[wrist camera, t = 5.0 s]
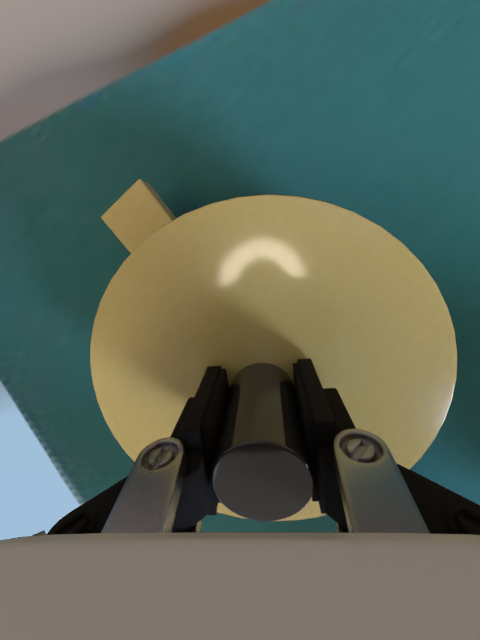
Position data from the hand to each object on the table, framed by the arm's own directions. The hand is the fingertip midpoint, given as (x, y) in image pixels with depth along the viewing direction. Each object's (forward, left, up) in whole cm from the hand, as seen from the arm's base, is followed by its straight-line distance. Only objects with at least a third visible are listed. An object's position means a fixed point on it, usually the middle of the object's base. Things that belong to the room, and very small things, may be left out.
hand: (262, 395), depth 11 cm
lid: (0, 0, -1) cm, 1 cm away
